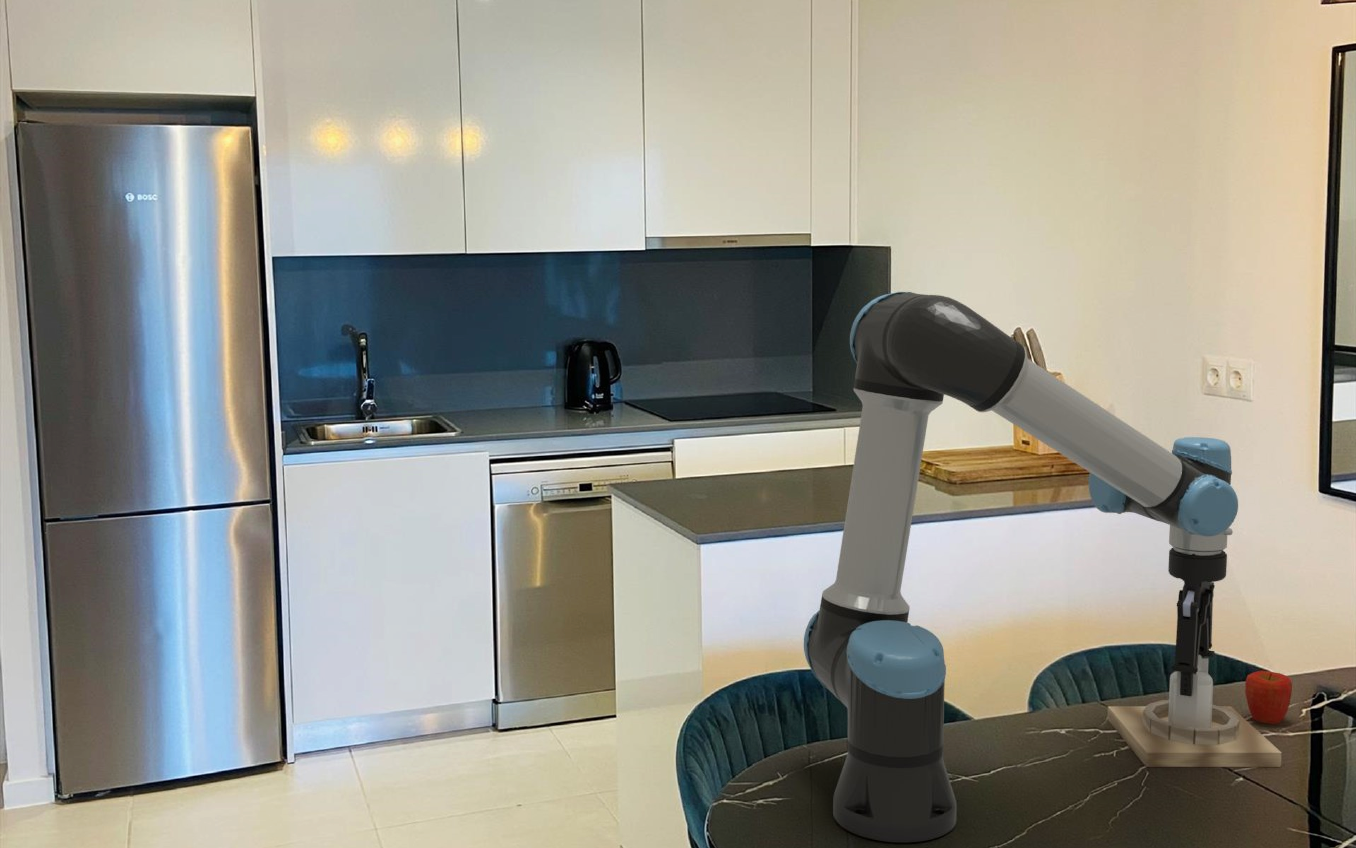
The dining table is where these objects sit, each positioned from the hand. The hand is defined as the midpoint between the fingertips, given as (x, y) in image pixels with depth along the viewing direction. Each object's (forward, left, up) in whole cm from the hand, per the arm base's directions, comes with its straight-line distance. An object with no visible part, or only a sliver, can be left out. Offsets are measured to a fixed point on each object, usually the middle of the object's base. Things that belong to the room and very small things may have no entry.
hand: (1191, 708), depth 186 cm
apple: (+14, +8, -5) cm, 17 cm away
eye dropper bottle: (0, 0, -3) cm, 3 cm away
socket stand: (0, 0, -5) cm, 5 cm away
